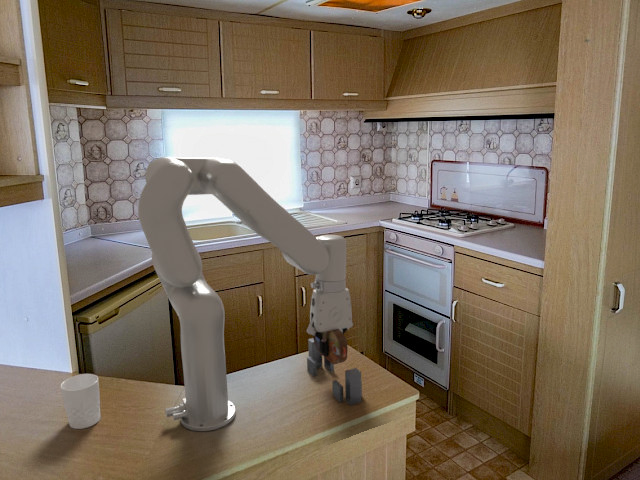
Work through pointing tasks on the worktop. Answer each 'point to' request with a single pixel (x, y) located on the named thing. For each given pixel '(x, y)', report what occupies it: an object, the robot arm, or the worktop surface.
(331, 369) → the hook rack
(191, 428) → the robot arm
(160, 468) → the worktop surface
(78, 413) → the white cup
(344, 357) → the tin
